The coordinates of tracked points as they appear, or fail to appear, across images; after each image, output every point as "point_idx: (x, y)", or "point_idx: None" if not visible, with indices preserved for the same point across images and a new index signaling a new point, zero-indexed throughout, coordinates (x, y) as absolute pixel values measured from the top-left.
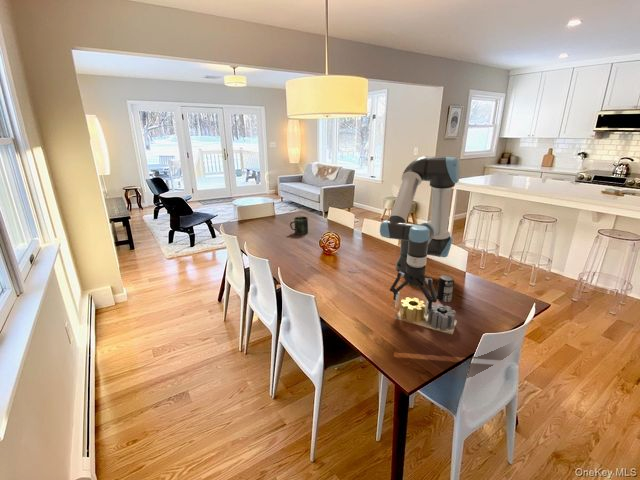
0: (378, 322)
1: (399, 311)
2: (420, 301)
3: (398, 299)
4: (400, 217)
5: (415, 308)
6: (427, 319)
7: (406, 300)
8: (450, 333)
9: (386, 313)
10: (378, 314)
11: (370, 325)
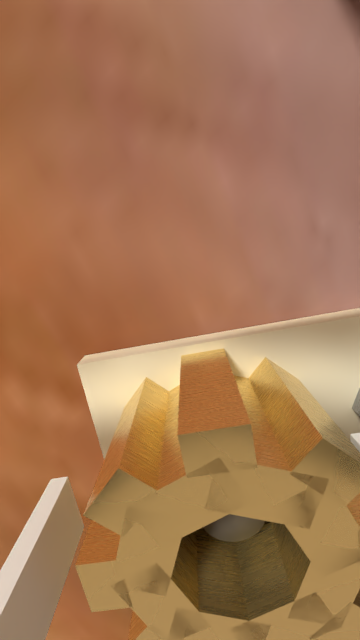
0: (66, 589)
1: (105, 450)
2: (303, 479)
3: (37, 578)
4: None
5: (305, 635)
6: (347, 422)
7: (132, 561)
8: None
9: (37, 483)
10: (5, 523)
11: (50, 633)
